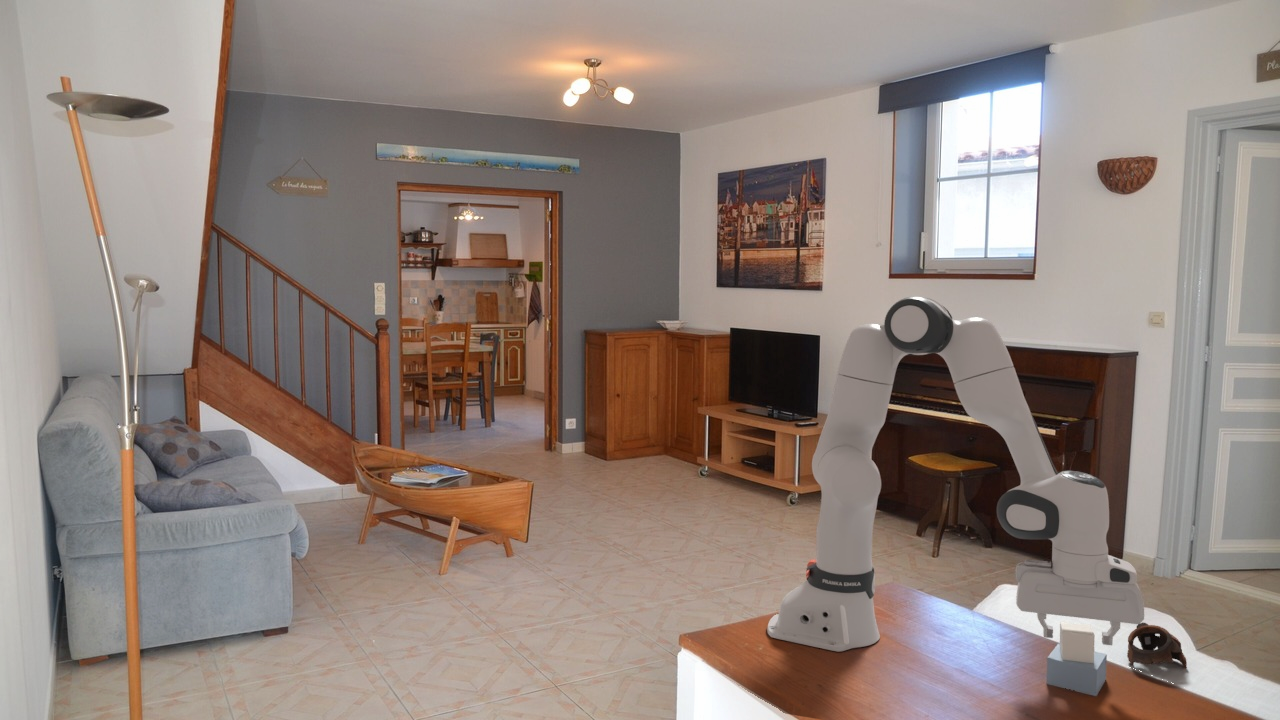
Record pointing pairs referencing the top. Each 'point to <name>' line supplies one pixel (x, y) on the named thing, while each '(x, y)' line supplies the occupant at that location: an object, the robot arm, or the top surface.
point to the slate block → (1076, 672)
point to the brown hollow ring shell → (1154, 646)
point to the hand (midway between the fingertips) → (1077, 640)
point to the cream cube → (1077, 642)
